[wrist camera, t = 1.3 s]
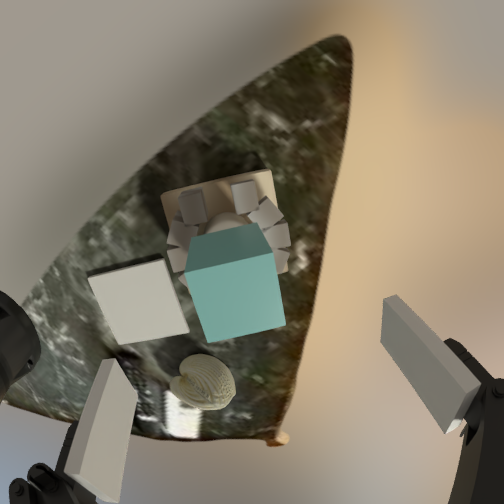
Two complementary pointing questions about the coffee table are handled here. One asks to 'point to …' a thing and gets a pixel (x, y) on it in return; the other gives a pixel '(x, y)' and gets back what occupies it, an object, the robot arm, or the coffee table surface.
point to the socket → (224, 200)
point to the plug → (233, 279)
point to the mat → (139, 302)
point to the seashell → (204, 382)
